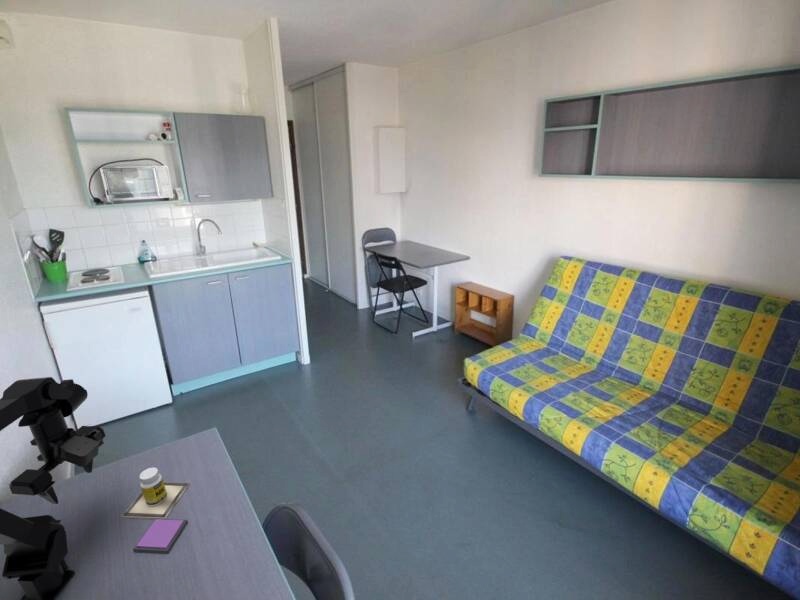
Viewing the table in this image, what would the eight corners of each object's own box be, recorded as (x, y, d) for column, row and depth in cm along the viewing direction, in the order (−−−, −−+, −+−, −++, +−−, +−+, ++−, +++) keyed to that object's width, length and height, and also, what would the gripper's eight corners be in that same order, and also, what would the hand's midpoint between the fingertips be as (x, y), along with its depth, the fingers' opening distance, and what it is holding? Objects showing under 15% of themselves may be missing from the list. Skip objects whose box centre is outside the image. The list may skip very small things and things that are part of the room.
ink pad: (168, 553, 93) (166, 549, 93) (133, 551, 94) (132, 547, 94) (187, 522, 101) (186, 518, 100) (156, 521, 102) (154, 517, 101)
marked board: (165, 519, 102) (164, 517, 102) (122, 517, 103) (121, 516, 103) (189, 484, 112) (189, 482, 112) (150, 482, 113) (149, 481, 113)
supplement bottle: (161, 506, 105) (152, 480, 102) (142, 507, 105) (133, 481, 102) (171, 491, 109) (163, 465, 106) (153, 491, 109) (144, 466, 106)
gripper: (45, 464, 81) (70, 524, 87) (116, 406, 99) (134, 460, 104) (-6, 461, 83) (22, 520, 88) (73, 404, 100) (93, 457, 106)
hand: (73, 487), depth 97 cm, fingers open, 9 cm apart
